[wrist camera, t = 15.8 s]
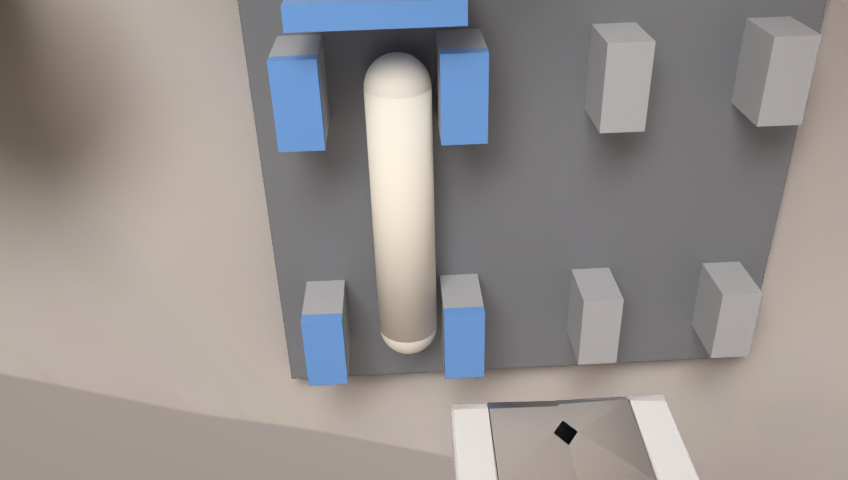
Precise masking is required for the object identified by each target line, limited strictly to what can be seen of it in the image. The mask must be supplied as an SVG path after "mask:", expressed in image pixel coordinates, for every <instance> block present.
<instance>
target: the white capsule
mask: <svg viewBox="0 0 848 480" xmlns="http://www.w3.org/2000/svg"><path fill="white" fill-rule="evenodd" d="M364 103H365V118H366V132H367V147H368V162H369V177H370V192H371V206H372V221H373V236H374V251H375V266H376V280H377V295H378V310H379V325H380V332H381V335H382V338H383V340H384V341H385V343H386V344H387V345H388V346H389V347H390V348H392V349H393V350H395V351H397V352H399V353H403V354H413V353H417V352H420V351H422V350H423V349H425V348H426V347H427V346H428V345H429V344H430V343H431V342H432V340H433V339H434V336H435V334H436V330H437V306H436V261H435V216H434V171H433V126H432V85H431V78H430V75H429V72H428V71H427V69H426V67H425V66H424V64H423V63H422V62H421V61H420V60H419V59H417V58H416V57H414V56H412V55H410V54H407V53H404V52H391V53H387V54H385V55H382V56H380V57H379V58H377V59H376V60H375V61H374V62H373V63H372V64H371V66H370V67H369V68H368V70H367V72H366V75H365V79H364Z"/></svg>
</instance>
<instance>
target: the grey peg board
mask: <svg viewBox="0 0 848 480" xmlns="http://www.w3.org/2000/svg"><path fill="white" fill-rule="evenodd" d="M825 5H826V0H238V6H239V13H240V20H241V27H242V34H243V41H244V48H245V55H246V62H247V69H248V76H249V83H250V90H251V97H252V104H253V111H254V118H255V125H256V132H257V139H258V146H259V153H260V160H261V167H262V174H263V181H264V188H265V195H266V202H267V209H268V216H269V223H270V230H271V237H272V244H273V251H274V258H275V265H276V272H277V279H278V286H279V293H280V300H281V307H282V314H283V321H284V328H285V335H286V342H287V349H288V356H289V363H290V370H291V377H292V379H296V378H308V383H309V386H311V385H331V384H348V376H357V375H377V374H397V373H418V372H438V371H445V379H452V378H472V377H484V369H499V368H519V367H539V366H560V365H582V364H602V363H620V362H641V361H661V360H681V359H701V358H724V357H744V356H749V351H750V347H751V343H752V338H753V334H754V329H755V325H756V321H757V316H758V312H759V308H760V303H761V299H762V295H763V293H762V291H761V286H762V282H763V277H764V273H765V268H766V264H767V260H768V255H769V251H770V246H771V242H772V238H773V233H774V229H775V224H776V220H777V216H778V211H779V207H780V203H781V198H782V194H783V189H784V185H785V181H786V176H787V172H788V167H789V163H790V159H791V154H792V150H793V145H794V141H795V137H796V132H797V128H798V125H802V121H803V116H804V112H805V108H806V103H807V99H808V94H809V90H810V86H811V81H812V77H813V73H814V68H815V64H816V60H817V55H818V51H819V47H820V42H821V38H822V35H821V34H820V33H819V31H820V27H821V22H822V18H823V14H824V9H825ZM391 52H404V53H407V54H410V55H412V56H414V57H416V58H417V59H419V60H420V61H421V62H422V63H423V64H424V66H425V67H426V69H427V71H428V72H429V75H430V78H431V85H432V126H433V171H434V216H435V261H436V306H437V330H436V334H435V336H434V339H433V340H432V342H431V343H430V344H429V345H428V346H427V347H426V348H425V349H423V350H422V351H420V352H417V353H413V354H403V353H399V352H397V351H395V350H393V349H392V348H390V347H389V346H388V345H387V344H386V343H385V341H384V340H383V338H382V335H381V332H380V325H379V310H378V295H377V280H376V266H375V251H374V236H373V221H372V206H371V192H370V177H369V162H368V147H367V132H366V118H365V103H364V79H365V75H366V72H367V70H368V68H369V67H370V66H371V64H372V63H373V62H374V61H375V60H376V59H377V58H379V57H380V56H382V55H385V54H387V53H391Z"/></svg>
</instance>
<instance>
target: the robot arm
mask: <svg viewBox="0 0 848 480" xmlns="http://www.w3.org/2000/svg"><path fill="white" fill-rule="evenodd" d="M451 420H452V450H453V477H454V480H700V478H699V476H698V474H697V471H696V469H695V467H694V464H693V462H692V460H691V457H690V455H689V452H688V450H687V448H686V445H685V443H684V441H683V438H682V436H681V434H680V431H679V429H678V427H677V424H676V422H675V419H674V417H673V415H672V412H671V410H670V408H669V405H668V403H667V401H666V398H664V397H663V396H662V395H661V394H653V395H638V396H626V397H625V398H624V397H611V398H594V399H576V400H559V401H533V402H495V403H487V405H486V404H452V407H451Z"/></svg>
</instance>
